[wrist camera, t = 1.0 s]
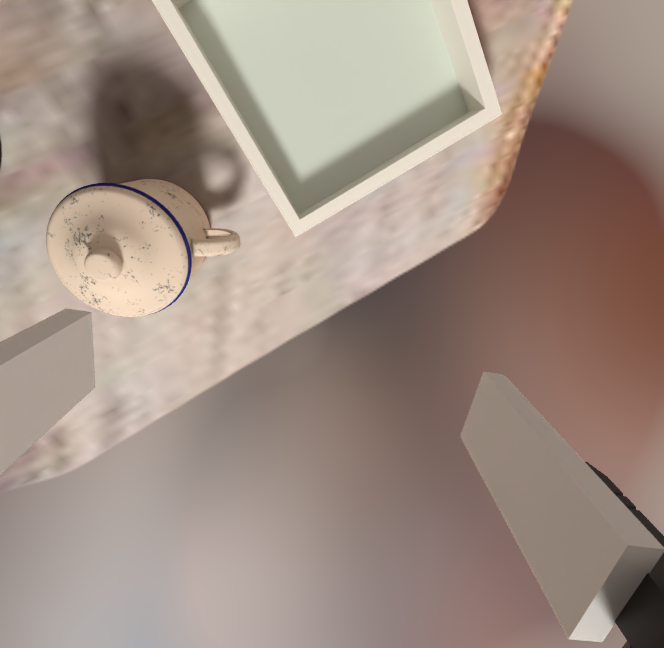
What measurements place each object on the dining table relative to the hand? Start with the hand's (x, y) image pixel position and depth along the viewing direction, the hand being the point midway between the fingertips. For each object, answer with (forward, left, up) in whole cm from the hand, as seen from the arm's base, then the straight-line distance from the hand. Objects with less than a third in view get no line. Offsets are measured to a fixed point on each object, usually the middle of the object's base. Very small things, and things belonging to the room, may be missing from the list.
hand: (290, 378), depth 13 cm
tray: (-9, +10, -24) cm, 27 cm away
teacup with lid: (-5, -8, -24) cm, 26 cm away
